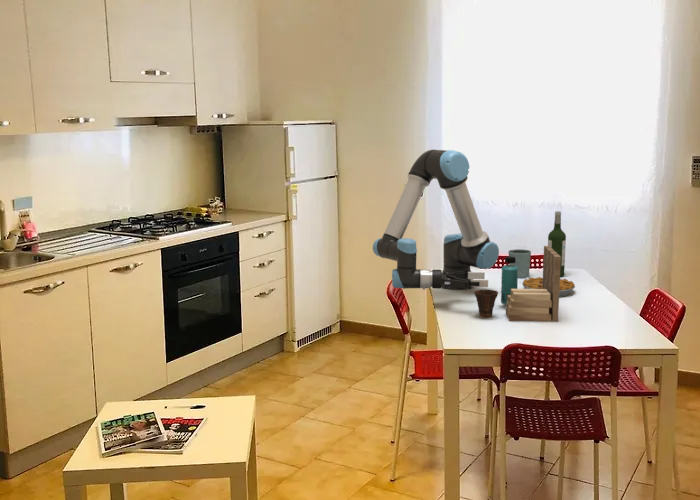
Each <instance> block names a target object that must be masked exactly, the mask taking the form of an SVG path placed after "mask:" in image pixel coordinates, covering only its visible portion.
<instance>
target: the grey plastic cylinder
mask: <svg viewBox="0 0 700 500" xmlns="http://www.w3.org/2000/svg"><path fill="white" fill-rule="evenodd" d="M531 254H532V251H531V250H530V249H520V248H519V249H518V248H516V249H510V250H508V257H515V261H516V263H508V265H515V266H516V267H517V268H518V279H519V278H520V279H527V278H526V277H528V278H530V267H531Z"/></svg>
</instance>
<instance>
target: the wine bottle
mask: <svg viewBox="0 0 700 500" xmlns="http://www.w3.org/2000/svg"><path fill="white" fill-rule="evenodd" d="M553 224H554V225H553V229H552V230H550V232H549V233H548V235H547V246H550V247H551V248H552V249H553V250H554V251H555V252H556V253H557V254H558V255H559V256H561V266H560V278H563V277H565V263H566V247H567V246H566V245H567V244H566V242H567V241H566V240H567V235H566V233H565V232H564V230H562V212H561V211H559V210H558V211H557V210H555V211H554V223H553Z"/></svg>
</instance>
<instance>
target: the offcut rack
mask: <svg viewBox="0 0 700 500" xmlns="http://www.w3.org/2000/svg"><path fill="white" fill-rule="evenodd" d="M542 261H543V263H542V278H543V284H542V289H525V288H518V289H511V295H507V305H505V315H506V317H507V319H508V322H559V307H560V306H559V305H560V297H559V288H560V279H561V277H560V266H561V256H559V255H558V254H557V253H556V252H555V251H554V250H553V249H552V248H551V247H550V246H548V245H543V260H542Z"/></svg>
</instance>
